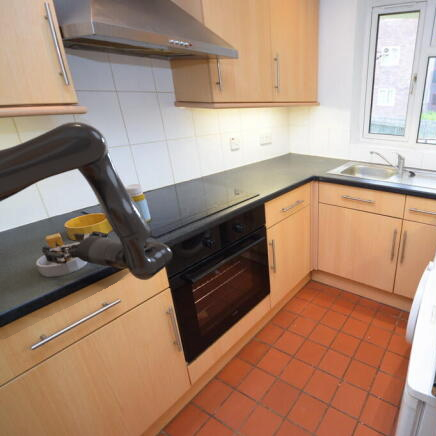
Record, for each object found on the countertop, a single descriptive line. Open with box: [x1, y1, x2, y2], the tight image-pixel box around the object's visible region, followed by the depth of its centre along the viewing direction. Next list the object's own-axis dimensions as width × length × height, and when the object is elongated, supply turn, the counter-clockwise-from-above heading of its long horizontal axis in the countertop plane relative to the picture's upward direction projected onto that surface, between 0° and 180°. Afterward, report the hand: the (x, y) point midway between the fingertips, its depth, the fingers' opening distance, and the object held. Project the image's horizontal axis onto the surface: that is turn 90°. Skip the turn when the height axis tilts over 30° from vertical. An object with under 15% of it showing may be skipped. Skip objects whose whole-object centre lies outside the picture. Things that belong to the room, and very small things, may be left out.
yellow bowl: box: [64, 212, 113, 241], centre depth 110 cm, size 13×13×5 cm
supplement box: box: [45, 232, 70, 264], centre depth 88 cm, size 3×3×10 cm
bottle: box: [124, 183, 152, 224], centre depth 117 cm, size 7×7×15 cm
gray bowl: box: [35, 248, 88, 278], centre depth 90 cm, size 11×11×4 cm
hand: (60, 242), depth 86 cm, fingers open, 8 cm apart
